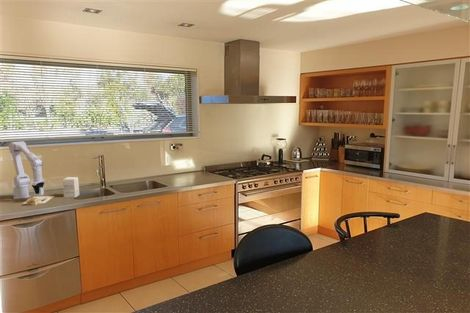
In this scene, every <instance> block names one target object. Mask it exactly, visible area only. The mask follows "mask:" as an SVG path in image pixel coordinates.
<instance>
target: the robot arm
mask: <svg viewBox="0 0 470 313" xmlns="http://www.w3.org/2000/svg"><path fill="white" fill-rule="evenodd" d="M8 150H9V152H10V154H11V156H12V157H11V158H12V160H13V164H14V169H15V173H16V175H15V176H13V184H14V187H13V189H12V190H13V199H29V198H30V197H31V196H32V195H30V194H29V193H30V191H29V186H30V184H31V179H30V177H29V174H26V173H25V169H24V165H23V162H22V157H21V153H23V154H24V155H25V159H26V160H27V161H29V163H30V166H31V170H32V175H33V176H32V178H33V182H32V184H31V187H32V189H34V190H35V193H36V194H39V191H40V188H42V187H43V188H44V185H45V180H44V178H43V170H42V167H43V165H44V161H43V159H42V158H39V157H37V155H36V154H35V153H34V152H31V151H30V150H29V149H28V147H27V143H26V142H25V140H21V141H10V142H9V144H8ZM34 190H33V191H34Z"/></svg>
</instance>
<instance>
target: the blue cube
mask: <svg viewBox="0 0 470 313" xmlns="http://www.w3.org/2000/svg"><path fill="white" fill-rule="evenodd" d="M32 190H33V197H39V196H44V195H45V194H44V193H45V191H44V186H43V187H42V188H40V191H39V194H36V193H35V190H34V188H32Z"/></svg>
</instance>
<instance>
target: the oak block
mask: <svg viewBox="0 0 470 313" xmlns="http://www.w3.org/2000/svg"><path fill="white" fill-rule="evenodd" d="M25 202H26V204H25V205H26V206H37V205H38V204H40V203H39V201H38V198H33V197H28V198H27V199H26V201H25Z"/></svg>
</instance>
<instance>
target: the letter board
mask: <svg viewBox="0 0 470 313" xmlns="http://www.w3.org/2000/svg"><path fill="white" fill-rule="evenodd" d="M54 197H55V195H47V196H45V195H40V196H33V197H32V198H38V201H39V203H38V204H46V203H47V202H48V201H50V200H51V199H53V198H54ZM22 205H27V204H26V201H24V202H22Z"/></svg>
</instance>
